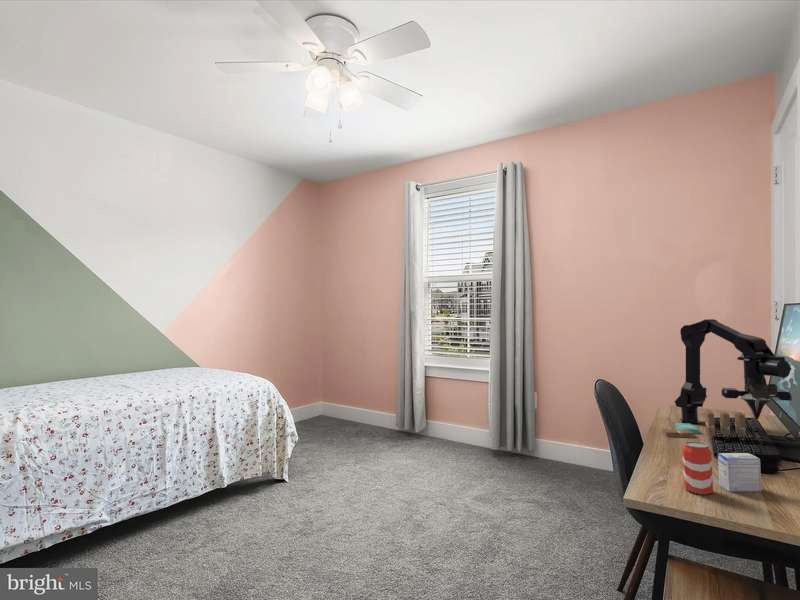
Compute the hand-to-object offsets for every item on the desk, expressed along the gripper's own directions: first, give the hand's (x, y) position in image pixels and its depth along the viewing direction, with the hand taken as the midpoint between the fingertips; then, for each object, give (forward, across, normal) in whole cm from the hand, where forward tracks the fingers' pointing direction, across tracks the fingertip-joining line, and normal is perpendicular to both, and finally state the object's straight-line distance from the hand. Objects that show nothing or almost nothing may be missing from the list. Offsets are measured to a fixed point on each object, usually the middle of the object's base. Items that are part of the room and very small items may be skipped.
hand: (756, 418), depth 160 cm
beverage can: (+8, -27, -57) cm, 63 cm away
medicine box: (+8, -17, -52) cm, 55 cm away
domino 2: (+8, -14, 0) cm, 16 cm away
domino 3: (+8, -9, 0) cm, 12 cm away
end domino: (+7, -19, +4) cm, 21 cm away
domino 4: (+8, -5, 0) cm, 9 cm away
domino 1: (+7, -20, 0) cm, 21 cm away
